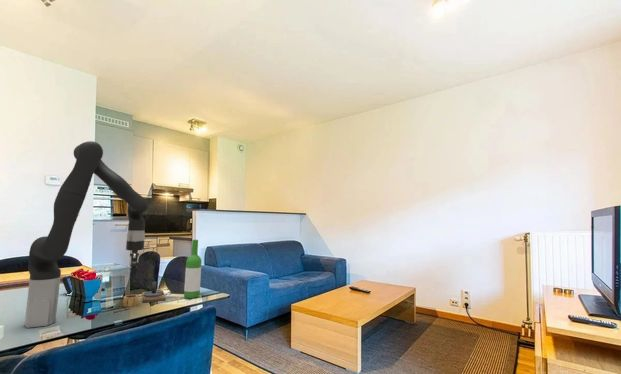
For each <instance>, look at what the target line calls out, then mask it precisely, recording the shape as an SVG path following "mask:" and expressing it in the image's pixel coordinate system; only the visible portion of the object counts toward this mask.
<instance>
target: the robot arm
mask: <svg viewBox="0 0 621 374" xmlns="http://www.w3.org/2000/svg"><path fill="white" fill-rule="evenodd" d="M103 155H104V149H103V147H102V146H101V145H100V143H99V142H96V141H93V140H92V141H91V140H88V141H85V142H82V143H80V144H78V145H77V146H75V148H74V149H73V156H74V157H73V158H75V162H74V163H75V164H74V166H73V167H72V170H71V171H70V173H69V174H68V176H67V177H66V178H65V180H64V182H62V185H61V186H60V188H59V190H58V192H57V194H56V196H55V199H54V202H53V221H52V226H51V228H50V231H49V233H48V234H47V235H46V236H41V237H38V238H36V239H35V240H34V241H33V242H32V243H31V245H30V248H29V252H28V253H29V254H28V264H27V265H28V267H27V268H28V269H27V270H28V273H29V281H28V291H27V298H26V299H27V300H26V307H25V318H24V327H25V328H27V329H28V328H29V329H30V328H37V327H45V326H46V327H47V326H49V325H51V324H53V323H56V321H57V314H58V313H57V312H58V304H59V303H58V302H59V293H60V284H61V283H60V282H61V276H62V270H61V268H60V267H59V265H58V262H57V261H58V260H60V259H62V258H63V257H64V256H65V255H66V253H67V252H68V249H69V245H70V241H71V238H72V233H73V229H74V226H75V224H76V221H77V219H78V216H79V214H80V211H81V208H82V207H83V204H84V202H85V199H86V196H87V192H88V190H89V187H90V185H91V182H92V178H93V176H94V175H95V176H96V177H98V179H100V180H101V181H102V182H104V184H105V185H106V186H107V187H109V189H110V190H111V191H113V193H114V194H115V195H116V196H117V197H118V198H120V199H121V200H123V201H124V202H125V203H126V204H127V215H128V216H127V217H128V226H127V227H128V228H127V234H126V245H125V251H130V252H131V253H129V264H130V266H129V267H130V276H131V277H135V276H136V275H137V268H138V264H139V259H140V253H139V251H142V250H144V248H145V239H146V238H145V235H146V233H145V229H146V226H145V225H146V220H145V218H144V216H143V215H144V213H146V212H147V211H148V209H149V203H148V201H147V200H146V199H145V197H143V196H142V195H141V194H140V193H139V192H137V191H136V190H135V189H134V188H133V187H132V186H131V185H130V184H129V183H128V181H126V180H125V179H124V178H123V177H122V176H121V175H119V174H118V173H117V172H115V171H113V170H112V169H111V168H110V167H109V166H108V165H107V164H106V163H105V162H104V161H103V160H102V158H103Z"/></svg>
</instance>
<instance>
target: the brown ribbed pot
mask: <svg viewBox="0 0 621 374" xmlns="http://www.w3.org/2000/svg"><path fill="white" fill-rule="evenodd" d="M137 306H139V294H127V295H124V296H123V301H122V307H125V308H131V307H132V308H133V307H137Z"/></svg>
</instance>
